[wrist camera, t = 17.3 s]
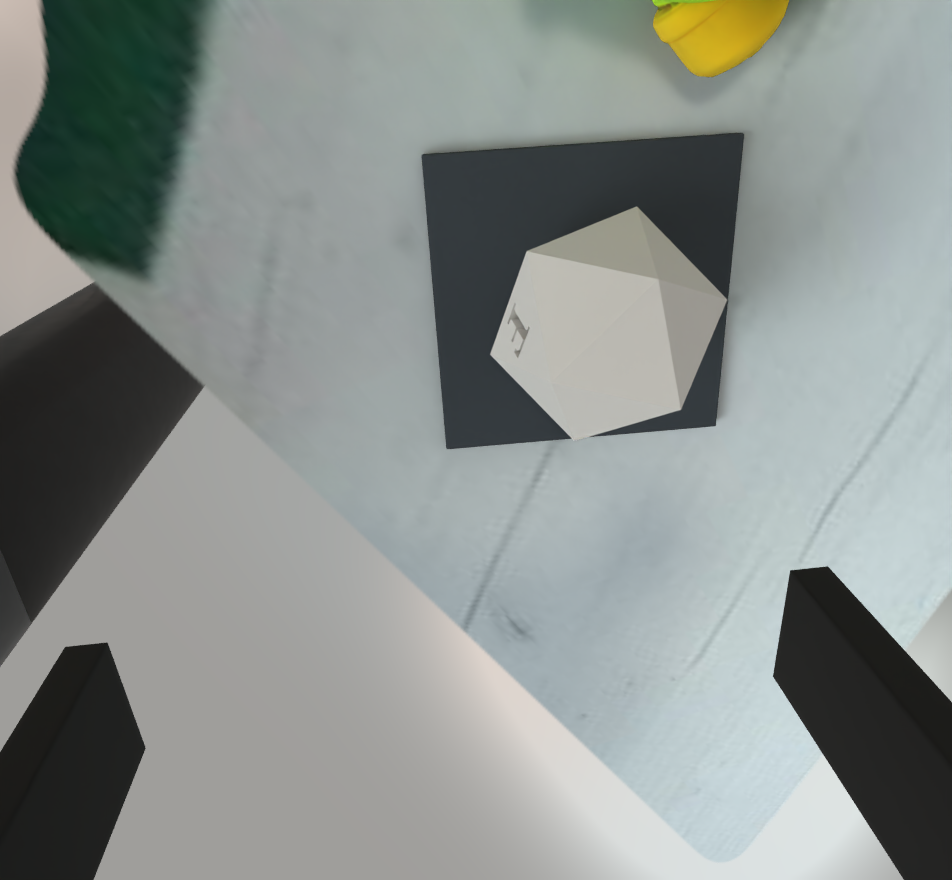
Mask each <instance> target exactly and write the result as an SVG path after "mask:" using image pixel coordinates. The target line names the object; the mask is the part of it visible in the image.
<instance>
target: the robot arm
mask: <svg viewBox="0 0 952 880" xmlns="http://www.w3.org/2000/svg"><path fill="white" fill-rule="evenodd" d="M773 677H774V679H775V680H776V682H777V683H778V685H779V686H780V688H781V689H782V691H783V693H784V694H785V696H786V697H787V699H788V700H789V702H790V703H791V705H792V707H793V708H794V710H795V711H796V713H797V714H798V716H799V717H800V719H801V721H802V722H803V724H804V725H805V727H806V728H807V730H808V731H809V733H810V734H811V736H812V738H813V739H814V741H815V742H816V744H817V745H818V747H819V748H820V750H821V752H822V753H823V755H824V756H825V758H826V759H827V761H828V762H829V764H830V765H831V767H832V769H833V770H834V772H835V773H836V775H837V776H838V778H839V780H840V781H841V783H842V784H843V786H844V787H845V789H846V790H847V792H848V794H849V795H850V797H851V798H852V800H853V801H854V803H855V804H856V806H857V808H858V809H859V811H860V812H861V814H862V815H863V817H864V818H865V820H866V822H867V823H868V825H869V826H870V828H871V829H872V831H873V832H874V834H875V835H876V837H877V839H878V840H879V842H880V843H881V845H882V846H883V848H884V849H885V851H886V853H887V854H888V856H889V857H890V859H891V860H892V862H893V863H894V865H895V867H896V868H897V869H898V871H899V873H900V874H901V876H902V877H903V879H904V880H952V702H951V701H950V700H949V699H948V698H947V697H946V695H945V694H944V693H943V692H942V691H941V690H940V689H939V688H938V687H937V686H936V685H935V683H934V682H933V681H932V680H931V679H930V678H929V677H928V676H927V675H926V674H925V672H923V670H922V669H921V668H920V667H919V666H918V665H917V664H916V663H915V661H914V660H913V659H912V658H911V657H910V656H909V655H908V654H907V653H906V652H905V650H904V649H903V648H902V647H901V646H900V645H899V644H898V643H897V642H896V641H895V640H894V638H893V637H892V636H891V635H890V634H889V633H888V632H887V631H886V630H885V629H884V627H883V626H882V625H881V624H880V623H879V622H878V621H877V620H876V619H875V618H874V617H873V615H872V614H871V613H870V612H869V611H868V610H867V609H866V608H865V607H864V606H863V604H862V603H861V602H860V601H859V600H858V599H857V598H856V597H855V596H854V595H853V594H852V592H851V591H850V590H849V589H848V588H847V587H846V586H845V585H844V584H843V583H842V581H841V580H840V579H839V578H838V577H837V576H836V575H835V574H834V573H833V572H832V571H831V569H830V568H829V567H819V568H809V569H800V570H790V576H789V582H788V588H787V594H786V600H785V606H784V612H783V619H782V625H781V631H780V637H779V643H778V649H777V655H776V662H775V668H774V674H773ZM144 751H145V745H144V742H143V740H142V737H141V734H140V731H139V729H138V726H137V723H136V720H135V718H134V715H133V712H132V709H131V707H130V704H129V701H128V698H127V695H126V693H125V690H124V687H123V684H122V682H121V679H120V676H119V673H118V671H117V668H116V665H115V662H114V659H113V657H112V654H111V651H110V648H109V646H108V643H99V644H90V645H80V646H71V647H65V648H64V650H63V652H62V653H61V655H60V656H59V658H58V660H57V661H56V663H55V664H54V666H53V668H52V669H51V671H50V672H49V674H48V676H47V677H46V679H45V680H44V682H43V684H42V685H41V687H40V689H39V690H38V692H37V694H36V695H35V697H34V698H33V700H32V702H31V703H30V705H29V706H28V708H27V710H26V711H25V713H24V715H23V716H22V718H21V719H20V721H19V723H18V724H17V726H16V728H15V729H14V731H13V733H12V734H11V736H10V737H9V739H8V740H7V742H6V744H5V745H4V747H3V749H2V750H1V752H0V880H93V879H94V877H95V874H96V872H97V869H98V867H99V864H100V862H101V859H102V857H103V854H104V852H105V849H106V847H107V844H108V842H109V839H110V837H111V834H112V831H113V829H114V826H115V824H116V821H117V819H118V816H119V814H120V811H121V809H122V806H123V804H124V801H125V799H126V796H127V794H128V791H129V789H130V786H131V784H132V781H133V778H134V776H135V773H136V771H137V769H138V766H139V763H140V761H141V758H142V756H143V753H144Z"/></svg>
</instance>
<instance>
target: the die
mask: <svg viewBox="0 0 952 880" xmlns="http://www.w3.org/2000/svg"><path fill="white" fill-rule="evenodd" d="M726 302H727V299H726V298H725V297H724V296H723V295H722V294H721V293H720V292H719V290H718V289H717V288H716V287H715V286H714V285H713V284H712V283H711V282H710V281H709V280H708V279H707V278H706V277H705V276H704V275H703V274H702V273H701V272H700V271H699V270H698V269H697V268H696V267H695V266H694V265H693V264H692V263H691V262H690V261H689V260H688V259H687V258H686V257H685V256H684V254H683V253H682V252H681V251H680V250H679V249H678V248H677V247H676V246H675V245H674V244H673V243H672V242H671V241H670V240H669V239H668V238H667V237H666V236H665V235H664V234H663V233H662V232H661V231H660V230H659V229H658V228H657V227H656V226H655V225H654V224H653V223H652V222H651V221H650V219H649V218H648V217H647V216H646V215H645V214H644V213H643V212H642V211H641V210H640V209H639V208H638V207H634V208H632V209H629V210H627V211H624V212H622V213H619V214H617V215H614V216H612V217H610V218H607V219H605V220H602V221H600V222H597V223H595V224H592V225H590V226H587V227H585V228H582V229H580V230H578V231H575V232H573V233H570V234H568V235H565V236H563V237H560V238H558V239H555V240H553V241H551V242H548V243H546V244H543V245H541V246H538V247H536V248H533V249H531V250H528V251H526V254H525V257H524V260H523V263H522V266H521V268H520V271H519V274H518V277H517V280H516V283H515V285H514V288H513V291H512V294H511V297H510V300H509V302H508V305H507V308H506V311H505V314H504V317H503V320H502V322H501V325H500V328H499V331H498V334H497V337H496V339H495V342H494V345H493V348H492V351H491V354H490V355H491V356H492V357H493V358H494V359H495V360H496V361H497V362H498V363H499V364H500V365H501V366H502V367H503V368H504V369H505V370H506V371H507V372H508V373H509V375H510V376H511V377H512V378H513V379H514V380H515V381H516V382H517V383H518V384H519V385H520V386H521V387H522V388H523V389H524V390H525V391H526V392H527V393H528V394H529V395H530V396H531V397H532V398H533V399H534V400H535V401H536V402H537V403H538V404H539V405H540V406H541V407H542V408H543V409H544V410H545V411H546V412H547V413H548V415H549V416H550V417H551V418H552V419H553V420H554V421H555V422H556V423H557V424H558V425H559V426H560V427H561V428H562V429H563V430H564V431H565V432H566V433H567V434H568V435H569V436H570V437H571V438H572V439H573V440H574V441H576V440H580V439H583V438H586V437H590V436H593V435H597V434H600V433H604V432H607V431H610V430H614V429H617V428H621V427H624V426H627V425H631V424H634V423H638V422H641V421H644V420H648V419H651V418H655V417H658V416H661V415H665V414H668V413H672V412H675V411H678V410H681V408H682V406H683V404H684V401H685V399H686V396H687V394H688V392H689V389H690V387H691V385H692V382H693V380H694V378H695V375H696V373H697V370H698V368H699V366H700V363H701V361H702V359H703V356H704V354H705V351H706V349H707V347H708V344H709V342H710V340H711V337H712V335H713V333H714V330H715V328H716V325H717V323H718V321H719V318H720V316H721V314H722V311H723V309H724V306H725V304H726Z"/></svg>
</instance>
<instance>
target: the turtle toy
mask: <svg viewBox="0 0 952 880" xmlns="http://www.w3.org/2000/svg"><path fill="white" fill-rule="evenodd" d="M652 1H653V3H654V5H656V6H657V7H658V10H657V12H656V14H655V16H654V21H653V27H654V29H655V31H656V32H657V34H658V36H659V37H660V39H661V40H662V41H663V42H665V43H668V44H669V45H670V47H671V48H672V49H673V50H674V52H675V53H676V54H677V56H678V57H679V58H680V60H681V61H682V62H683V64H684V65H685V66H686V67H687V68H688V70H689V71H690V72H692V73H693V74H695V75H696V76H705V77H714V76H716V75H719V74H721V73H723V72H725V71H727V70H729V69H732V68H733V67H735V66H737V65H739V64H740V63H742V62H743V61H744V60H746V59H747V58H749V57H752V56H753V55H754V54H755V53H756V52H758V51H759V50H760V49H761V48H762V46H763V45H764V44H765V42H766V41H767V40H768V39H769V38H770V37H771V36H772V35H773V33H774V32H775V31H776V29H777V28H778V26H779V25H780V23H781V21H782V19H783V17H784V15H785V13H786V9H787V6H788V3H789V0H652Z"/></svg>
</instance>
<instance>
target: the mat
mask: <svg viewBox="0 0 952 880" xmlns="http://www.w3.org/2000/svg"><path fill="white" fill-rule="evenodd" d="M743 140H744V134H743V133H729V134H715V135H700V136H685V137H671V138H656V139H641V140H627V141H612V142H597V143H582V144H568V145H553V146H538V147H524V148H509V149H494V150H479V151H465V152H450V153H435V154H423V155H422V166H423V178H424V189H425V201H426V213H427V225H428V236H429V248H430V260H431V272H432V284H433V295H434V307H435V319H436V331H437V342H438V354H439V366H440V378H441V390H442V401H443V413H444V425H445V437H446V448H447V449H455V448H466V447H478V446H490V445H501V444H513V443H524V442H536V441H548V440H559V439H571V437H570V436H569V435H568V434H567V433H566V432H565V431H564V430H563V429H562V428H561V427H560V426H559V425H558V424H557V423H556V422H555V421H554V420H553V419H552V418H551V417H550V416H549V415H548V413H547V412H546V411H545V410H544V409H543V408H542V407H541V406H540V405H539V404H538V403H537V402H536V401H535V400H534V399H533V398H532V397H531V396H530V395H529V394H528V393H527V392H526V391H525V390H524V389H523V388H522V387H521V386H520V385H519V384H518V383H517V382H516V381H515V380H514V379H513V378H512V377H511V376H510V375H509V373H508V372H507V371H506V370H505V369H504V368H503V367H502V366H501V365H500V364H499V363H498V362H497V361H496V360H495V359H494V358H493V357H492V356H491V355H490V354H491V351H492V348H493V345H494V342H495V339H496V337H497V334H498V331H499V328H500V325H501V322H502V320H503V317H504V314H505V311H506V308H507V305H508V302H509V300H510V297H511V294H512V291H513V288H514V285H515V283H516V280H517V277H518V274H519V271H520V268H521V266H522V263H523V260H524V257H525V254H526V251H528V250H531V249H533V248H536V247H538V246H541V245H543V244H546V243H548V242H551V241H553V240H555V239H558V238H560V237H563V236H565V235H568V234H570V233H573V232H575V231H578V230H580V229H582V228H585V227H587V226H590V225H592V224H595V223H597V222H600V221H602V220H605V219H607V218H610V217H612V216H614V215H617V214H619V213H622V212H624V211H627V210H629V209H632V208H634V207H638V208H639V209H640V210H641V211H642V212H643V213H644V214H645V215H646V216H647V217H648V218H649V219H650V221H651V222H652V223H653V224H654V225H655V226H656V227H657V228H658V229H659V230H660V231H661V232H662V233H663V234H664V235H665V236H666V237H667V238H668V239H669V240H670V241H671V242H672V243H673V244H674V245H675V246H676V247H677V248H678V249H679V250H680V251H681V252H682V253H683V254H684V256H685V257H686V258H687V259H688V260H689V261H690V262H691V263H692V264H693V265H694V266H695V267H696V268H697V269H698V270H699V271H700V272H701V273H702V274H703V275H704V276H705V277H706V278H707V279H708V280H709V281H710V282H711V283H712V284H713V285H714V286H715V287H716V288H717V289H718V290H719V292H720V293H721V294H722V295H723V296H724V297H725V298H726V299H727V302H726V304H725V306H724V309H723V311H722V314H721V316H720V318H719V321H718V323H717V325H716V328H715V330H714V333H713V335H712V337H711V340H710V342H709V344H708V347H707V349H706V351H705V354H704V356H703V359H702V361H701V363H700V366H699V368H698V370H697V373H696V375H695V378H694V380H693V382H692V385H691V387H690V389H689V392H688V394H687V396H686V399H685V401H684V404H683V406H682V408H681V410H678V411H675V412H672V413H668V414H665V415H661V416H658V417H655V418H651V419H648V420H644V421H641V422H638V423H634V424H631V425H627V426H624V427H621V428H617V429H614V430H610V431H607V432H604V433H600V434H597V435H593V436H590V437H594V436H606V435H617V434H629V433H640V432H652V431H664V430H675V429H687V428H699V427H710V426H716V417H717V407H718V397H719V386H720V376H721V366H722V356H723V345H724V335H725V325H726V314H727V304H728V294H729V284H730V273H731V263H732V253H733V242H734V232H735V222H736V212H737V201H738V191H739V181H740V170H741V160H742V150H743Z"/></svg>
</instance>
